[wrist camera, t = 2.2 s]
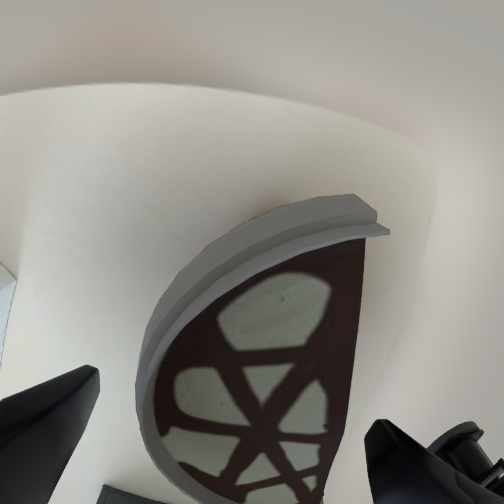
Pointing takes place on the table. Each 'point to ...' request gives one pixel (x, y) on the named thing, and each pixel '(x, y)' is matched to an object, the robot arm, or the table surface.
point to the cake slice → (258, 356)
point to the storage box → (121, 497)
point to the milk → (5, 301)
